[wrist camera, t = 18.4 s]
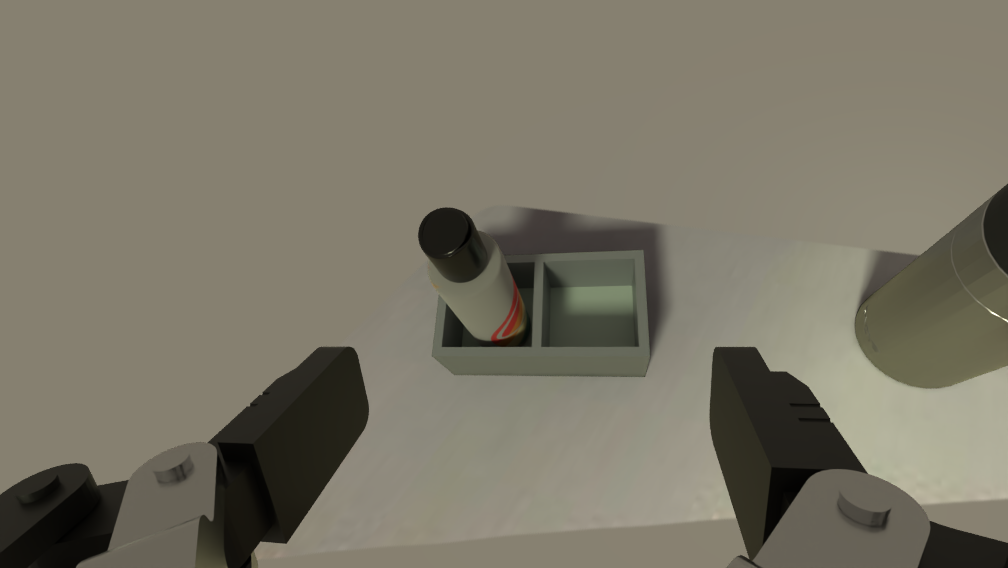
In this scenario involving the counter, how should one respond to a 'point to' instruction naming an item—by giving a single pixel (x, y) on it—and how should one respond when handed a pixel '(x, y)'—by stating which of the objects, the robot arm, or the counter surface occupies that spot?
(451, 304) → the lotion bottle
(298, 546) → the counter surface
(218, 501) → the robot arm
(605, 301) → the box
